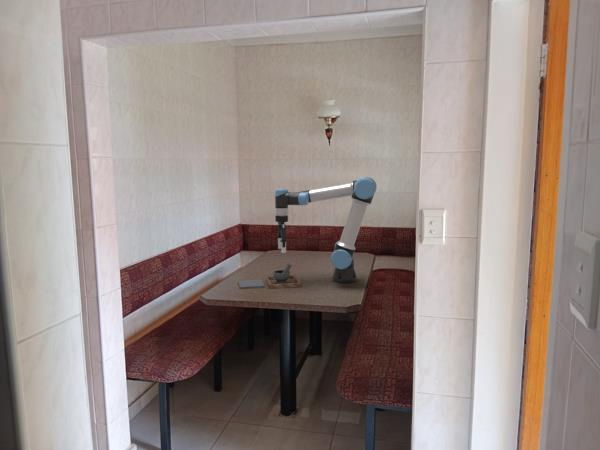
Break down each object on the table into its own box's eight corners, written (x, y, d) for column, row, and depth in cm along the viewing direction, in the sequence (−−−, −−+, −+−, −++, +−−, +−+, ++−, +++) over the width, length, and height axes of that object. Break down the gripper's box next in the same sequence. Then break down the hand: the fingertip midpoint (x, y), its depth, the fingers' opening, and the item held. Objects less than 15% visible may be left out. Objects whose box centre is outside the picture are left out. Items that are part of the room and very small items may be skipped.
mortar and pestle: (272, 285, 272) (272, 265, 271) (274, 281, 282) (273, 261, 280) (291, 284, 272) (291, 264, 270) (292, 281, 281) (292, 261, 280)
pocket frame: (295, 277, 289) (295, 274, 289) (301, 286, 268) (301, 283, 267) (265, 279, 286) (264, 276, 286) (269, 288, 264) (269, 285, 264)
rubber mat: (261, 280, 282) (261, 279, 282) (264, 287, 267) (264, 285, 267) (238, 282, 280) (238, 280, 280) (239, 288, 264) (239, 287, 264)
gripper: (272, 213, 283) (273, 247, 286) (278, 217, 259) (278, 254, 261) (284, 212, 285) (285, 246, 287) (291, 217, 260) (291, 254, 263)
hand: (282, 250), depth 274 cm, fingers open, 13 cm apart
